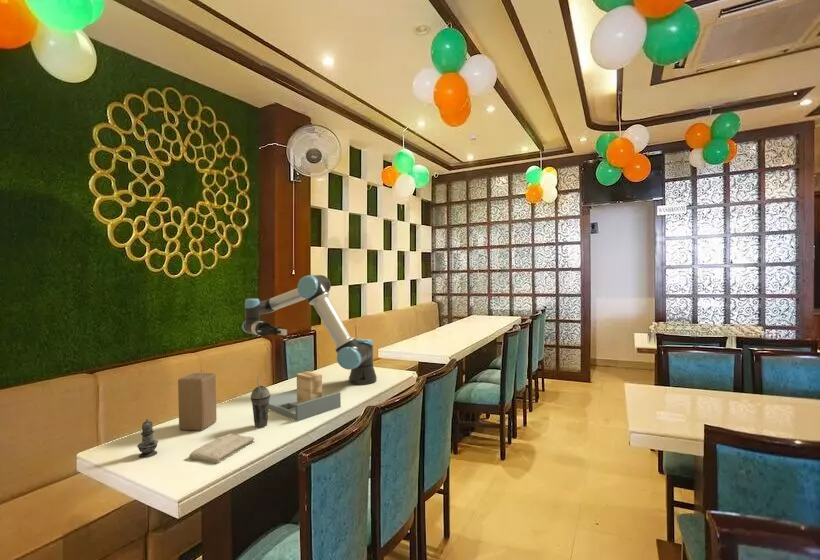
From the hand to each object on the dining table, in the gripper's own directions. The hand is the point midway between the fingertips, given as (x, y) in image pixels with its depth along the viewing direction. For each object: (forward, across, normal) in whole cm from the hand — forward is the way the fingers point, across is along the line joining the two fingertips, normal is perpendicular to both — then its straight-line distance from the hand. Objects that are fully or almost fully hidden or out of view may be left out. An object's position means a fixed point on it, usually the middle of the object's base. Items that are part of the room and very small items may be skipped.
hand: (285, 332), depth 202 cm
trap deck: (+22, +8, -30) cm, 38 cm away
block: (+12, +47, -30) cm, 57 cm away
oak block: (+30, +8, -28) cm, 42 cm away
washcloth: (+42, +50, -31) cm, 72 cm away
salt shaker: (+25, +68, -30) cm, 79 cm away
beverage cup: (+31, +31, -30) cm, 53 cm away
